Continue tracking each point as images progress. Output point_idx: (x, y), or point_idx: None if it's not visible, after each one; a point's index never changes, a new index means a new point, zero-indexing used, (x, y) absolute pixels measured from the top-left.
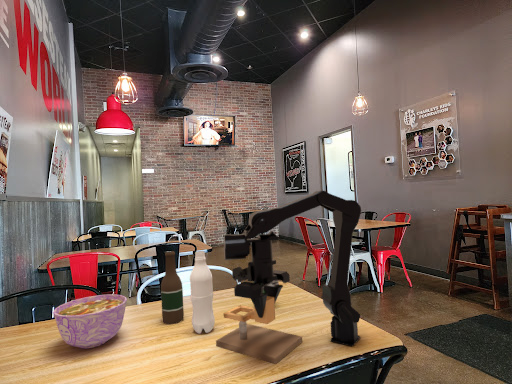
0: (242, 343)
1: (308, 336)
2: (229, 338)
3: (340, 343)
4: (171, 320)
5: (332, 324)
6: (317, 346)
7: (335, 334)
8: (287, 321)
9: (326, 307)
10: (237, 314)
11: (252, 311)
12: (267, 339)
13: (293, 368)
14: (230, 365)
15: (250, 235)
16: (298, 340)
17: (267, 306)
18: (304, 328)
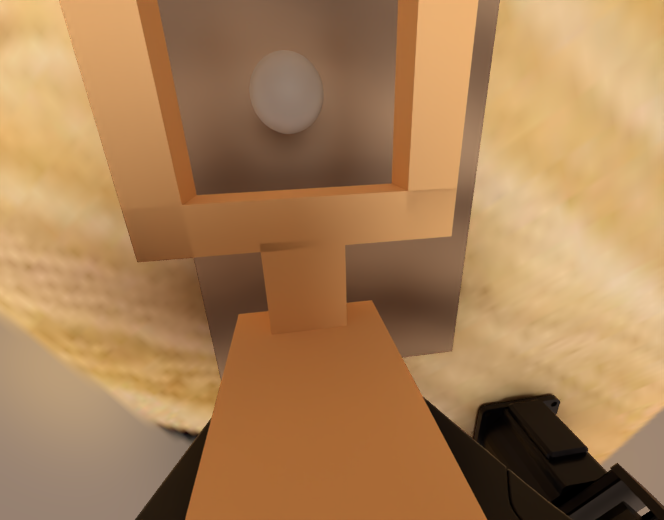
0: (225, 155)
1: (497, 328)
2: (219, 4)
3: (474, 435)
4: None
5: (539, 457)
6: (428, 392)
7: (506, 433)
8: (641, 151)
9: (622, 516)
10: (149, 100)
11: (351, 211)
12: (350, 246)
13: None
14: (60, 220)
15: None
16: (417, 352)
17: None
18: (570, 273)
